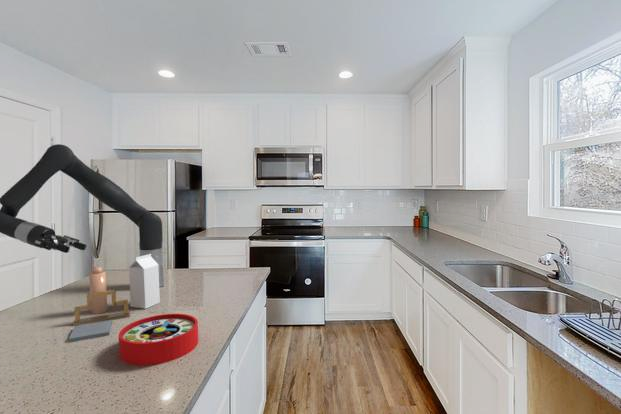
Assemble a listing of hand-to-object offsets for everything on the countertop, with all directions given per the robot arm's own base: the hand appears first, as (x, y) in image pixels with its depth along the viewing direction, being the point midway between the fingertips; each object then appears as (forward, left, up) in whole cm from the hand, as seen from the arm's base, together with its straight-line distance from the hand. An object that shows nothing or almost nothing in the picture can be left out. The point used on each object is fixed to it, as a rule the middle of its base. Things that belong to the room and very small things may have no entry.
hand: (77, 248), depth 121 cm
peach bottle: (-6, +4, -23) cm, 24 cm away
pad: (-6, +24, -23) cm, 34 cm away
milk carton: (-21, +5, -23) cm, 32 cm away
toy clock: (-25, +45, -23) cm, 56 cm away
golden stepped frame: (-8, +14, -23) cm, 28 cm away
